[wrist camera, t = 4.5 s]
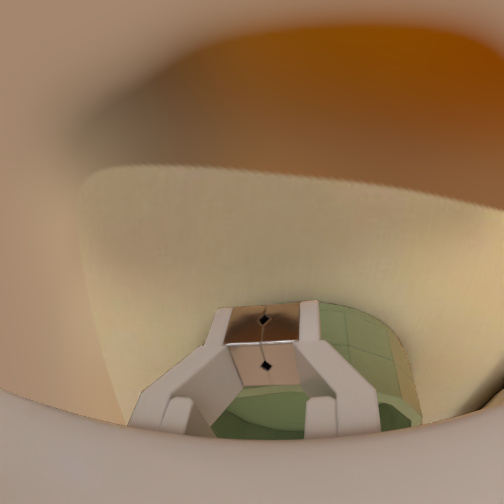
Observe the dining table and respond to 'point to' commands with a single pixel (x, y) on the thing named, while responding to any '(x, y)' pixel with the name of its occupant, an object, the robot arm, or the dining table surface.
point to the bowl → (294, 398)
